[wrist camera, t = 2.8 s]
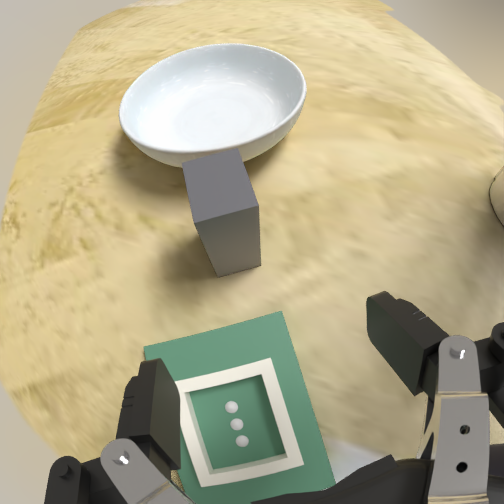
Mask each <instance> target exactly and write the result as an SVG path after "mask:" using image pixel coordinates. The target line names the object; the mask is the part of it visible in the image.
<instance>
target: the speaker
mask: <svg viewBox="0 0 504 504" xmlns="http://www.w3.org/2000/svg"><path fill="white" fill-rule="evenodd" d="M488 475H493V476H499V477H504V443H503V444H493V445H489V468H488Z"/></svg>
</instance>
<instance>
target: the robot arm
mask: <svg viewBox="0 0 504 504" xmlns="http://www.w3.org/2000/svg"><path fill="white" fill-rule="evenodd" d="M490 198H491V203H492V206H493V208H494V211H495V213H496V215H497V217H498V218H499V220H500V221H501V223H502V224H503V225H504V166H503V167H502V169H501V170H500V171H499V172H498V173H497V175H496V176H495V181H494V182H493V183H492V185H491V187H490ZM366 306H367V332H368V336H369V338H370V341H371V342H372V344H373V345H374V346H375V347H376V349H377V350H378V351H379V352H380V354H381V355H382V356H383V357H384V359H385V360H386V361H387V362H388V363H389V365H390V366H391V367H392V368H393V370H394V371H395V372H396V373H397V375H398V376H399V377H400V379H401V380H402V381H403V382H404V384H405V385H406V386H407V387H408V389H409V390H410V391H411V393H412V394H413V395H414V396H416V395H418V394H419V393H421V392H423V391H425V393H426V394H427V398H426V406H425V415H424V423H423V430H422V437H421V442H420V446H419V449H418V452H417V456H416V458H413V459H402V460H397V461H395V460H394V458H393V457H392V455H391V454H390V455H388V456H386V457H384V458H382V459H380V460H378V461H375V462H373V463H371V464H369V465H366V466H364V467H362V468H359V469H358V470H356V471H355V472H353V473H352V474H351V475H349V476H348V477H346V478H345V479H343V480H341V481H340V482H338V483H337V484H335V485H334V486H332V487H330V488H328V489H326V490H322V491H313V492H302V493H288V494H283V495H279V496H275V497H271V498H267V499H262V500H257V501H253V502H250V503H251V504H504V477H499V476H493V475H488V468H489V445H490V424H489V410H490V412H491V413H492V414H493V415H494V417H495V418H496V419H497V421H498V422H499V423H500V425H501V426H502V427H503V428H504V322H502V323H499V324H497V325H495V326H494V328H493V329H492V333H491V336H490V337H489V338H486V339H482V340H479V341H475V342H473V341H472V340H470V339H469V338H467V337H464V336H460V335H454V336H449V335H448V334H447V333H446V332H445V331H443V330H442V329H441V328H440V327H439V326H438V325H437V324H435V323H434V322H433V321H432V320H431V319H430V318H429V317H426V315H425V314H424V313H423V312H422V311H420V310H419V309H418V308H417V307H416V306H414V305H413V304H412V303H411V302H408V301H405V300H403V299H397V300H396V299H395V298H394V297H392V296H391V295H390V294H389V293H388V292H386V291H383V292H381V293H378V294H375V295H373V296H370V297H368V298H367V301H366ZM123 398H124V400H123V402H122V408H121V412H120V418H119V423H118V429H117V434H116V440H114V441H112V442H110V443H109V444H107V445H106V446H105V448H104V449H103V451H102V453H101V457H99V458H96V459H93V460H90V461H87V462H84V463H80V462H79V461H78V460H77V459H76V458H74V457H71V456H64V457H61V458H59V459H58V460H56V461H55V462H54V463H53V465H52V467H51V469H50V473H49V478H48V484H47V490H46V495H45V502H44V504H196V503H195V502H194V501H193V500H192V499H191V498H190V497H189V496H188V495H187V494H185V493H184V492H183V491H182V490H181V489H180V488H179V487H178V486H177V485H176V484H175V483H174V482H173V481H172V480H171V470H179V469H181V447H180V394H179V391H178V388H177V385H176V384H175V382H174V380H173V378H172V376H171V375H170V373H169V371H168V369H167V367H166V366H165V364H164V362H163V360H162V359H161V358H157V359H152V360H147V361H143V362H141V364H140V368H139V373H138V376H134V377H132V378H131V380H130V381H129V383H128V384H127V386H126V388H125V393H124V397H123Z"/></svg>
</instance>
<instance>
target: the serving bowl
mask: <svg viewBox="0 0 504 504" xmlns="http://www.w3.org/2000/svg"><path fill="white" fill-rule="evenodd" d="M305 97H306V81H305V78H304V76H303V74H302V72H301V71H300V69H299V68H298V67H297V66H296V65H295V64H294V63H293V62H292V61H291V60H289V59H288V58H286V57H285V56H283V55H281V54H279V53H277V52H275V51H272V50H270V49H266V48H263V47H259V46H253V45H247V44H213V45H207V46H201V47H196V48H192V49H189V50H185V51H182V52H179V53H177V54H174V55H172V56H170V57H167V58H165V59H163V60H161V61H160V62H158V63H156V64H155V65H153V66H152V67H150V68H149V69H147V70H146V71H145V72H144V73H142V74H141V75H140V76H139V77H138V78H137V79H136V80H135V81H134V82H133V83H132V84H131V86H130V87H129V88H128V90H127V91H126V93H125V94H124V96H123V98H122V101H121V104H120V108H119V120H120V124H121V127H122V129H123V131H124V132H125V134H126V135H127V136H128V138H129V139H130V140H131V141H132V142H133V144H134V145H135V146H136V147H138V148H139V149H140V150H141V151H142V152H143V153H145V154H146V155H148V156H149V157H151V158H153V159H155V160H157V161H159V162H162V163H164V164H168V165H171V166H175V167H180V168H183V167H182V163H183V162H186V161H190V160H193V159H197V158H201V157H204V156H208V155H212V154H216V153H219V152H223V151H227V150H231V149H235V148H238V149H239V152H240V155H241V158H242V160H243V162H244V161H247V160H250V159H252V158H254V157H256V156H258V155H260V154H262V153H264V152H265V151H267V150H269V149H270V148H272V147H273V146H274V145H276V144H277V143H278V142H279V141H280V140H282V139H283V138H284V137H285V136H286V135H287V133H288V132H289V131H290V130H291V129H292V127H293V126H294V124H295V123H296V121H297V119H298V117H299V115H300V113H301V110H302V108H303V104H304V101H305Z"/></svg>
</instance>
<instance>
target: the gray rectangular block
mask: <svg viewBox="0 0 504 504" xmlns="http://www.w3.org/2000/svg"><path fill="white" fill-rule="evenodd" d="M182 167H183V172H184V178H185V183H186V188H187V193H188V197H189V202H190V207H191V212H192V216H193V221H194V224H195V227H196V229H197V231H198V234H199V236H200V238H201V241H202V243H203V245H204V247H205V250H206V252H207V254H208V256H209V259H210V261H211V263H212V265H213V268H214V270H215V272H216V274H217V277H222V276H225V275H229V274H232V273H236V272H240V271H243V270H247V269H250V268H254V267H257V266H261V251H260V224H259V205H258V202H257V199H256V196H255V193H254V191H253V188H252V185H251V182H250V180H249V177H248V174H247V171H246V169H245V166H244V163H243V160H242V158H241V155H240V152H239V149H238V148H235V149H231V150H227V151H223V152H219V153H216V154H212V155H208V156H204V157H201V158H197V159H193V160H190V161H186V162H183V163H182Z"/></svg>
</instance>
